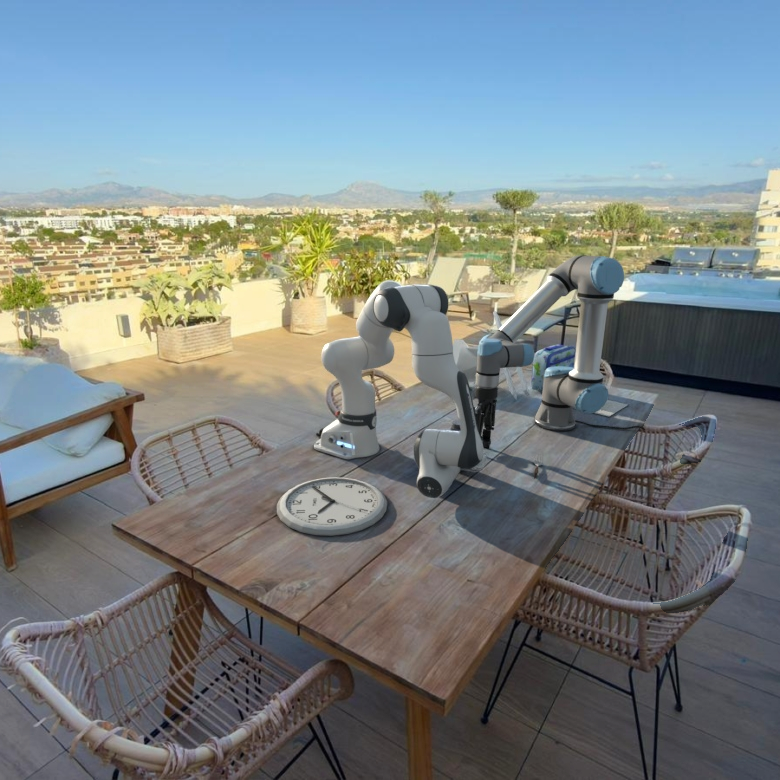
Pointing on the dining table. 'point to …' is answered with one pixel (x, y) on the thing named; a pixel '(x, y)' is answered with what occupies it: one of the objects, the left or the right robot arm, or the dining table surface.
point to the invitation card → (611, 408)
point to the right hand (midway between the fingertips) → (481, 450)
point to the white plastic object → (468, 362)
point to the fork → (537, 465)
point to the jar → (455, 427)
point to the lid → (486, 441)
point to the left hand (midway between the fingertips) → (458, 447)
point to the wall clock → (331, 506)
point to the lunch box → (550, 362)
